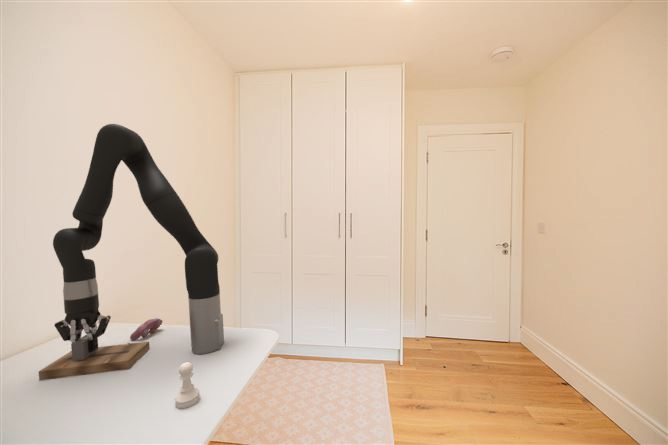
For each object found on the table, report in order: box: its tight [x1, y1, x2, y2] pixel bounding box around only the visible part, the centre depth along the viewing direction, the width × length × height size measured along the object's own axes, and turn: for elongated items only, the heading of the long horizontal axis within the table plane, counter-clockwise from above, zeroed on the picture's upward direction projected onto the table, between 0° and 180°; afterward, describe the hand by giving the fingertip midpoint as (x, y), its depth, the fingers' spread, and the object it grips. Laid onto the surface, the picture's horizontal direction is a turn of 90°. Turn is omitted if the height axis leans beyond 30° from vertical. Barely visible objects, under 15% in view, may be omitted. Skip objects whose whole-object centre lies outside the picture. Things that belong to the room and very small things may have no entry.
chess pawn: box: [174, 362, 201, 410], centre depth 63 cm, size 5×5×9 cm
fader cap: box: [70, 334, 99, 361], centre depth 81 cm, size 3×6×5 cm, turn 10°
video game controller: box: [129, 317, 163, 341], centre depth 101 cm, size 10×5×7 cm, turn 169°
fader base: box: [38, 341, 151, 381], centre depth 82 cm, size 22×12×3 cm, turn 100°
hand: (85, 351), depth 81 cm, fingers closed on fader cap, 3 cm apart
